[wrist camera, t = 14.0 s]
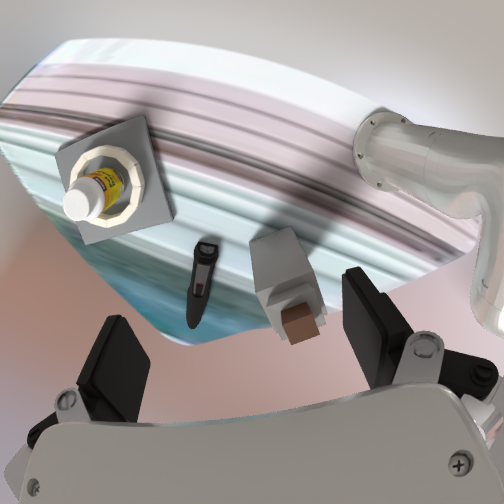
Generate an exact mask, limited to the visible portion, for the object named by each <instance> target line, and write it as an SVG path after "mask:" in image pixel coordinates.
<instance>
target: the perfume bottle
mask: <svg viewBox="0 0 504 504" xmlns="http://www.w3.org/2000/svg"><path fill="white" fill-rule="evenodd" d="M249 246H250V253H251V261H252V269H253V277H254V284H255V292H256V295H257V297H258V299H259V301H260V303H261V305H262V307H263V309H264V311H265V313H266V315H267V317H268V319H269V321H270V322H271V324H272V326H273V328H274V330H275V332H276V333H279V335H280V337H281V339H282V340H285V339H289V341H290V343H291V345H293V344H296V343H298V342H301V341H304V340H307V339H310V338H312V337H315V336H317V335H320V333H319V330H318V327H320V326H322V325H325V324H326V322H325V319H324V315H326V314H327V311H326V307H325V304H324V301H323V298H322V295H321V292H320V289H319V286H318V283H317V280H316V277H315V274H314V271H313V269H312V267H311V265H310V263H309V261H308V259H307V257H306V255H305V253H304V251H303V249H302V247H301V245H300V243H299V241H298V239H297V237H296V235H295V233H294V231H293V229H292V227H291V226H289V227H286V228H284V229H281V230H279V231H276V232H274V233H271V234H269V235H266V236H264V237H261V238H259V239H256V240H254V241H251V242H249Z"/></svg>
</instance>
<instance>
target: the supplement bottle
mask: <svg viewBox="0 0 504 504" xmlns="http://www.w3.org/2000/svg"><path fill="white" fill-rule="evenodd" d="M123 192H124V180H123V177H122V175H121V174H120V173H119V172H118V171H117V170H116V169H114V168H111V167H104V168H100V169H98V170H96V171H93V172H91V173H89V174H87V175H84V176H82V177H80V178H78V179H76V180H75V181H74V182H73V183H72V184H71V185H70V187H69V189H68V191H67V192H66V194H65V195H64V198H63V208H64V211H65V213H66V215H67V216H68V217H69V218H70V219H72V220H75V221H81V220H86V221H88V220H93V219H95V218H96V217H98V216H99V215H100V214H101V213H102V212H104V211H105V210H106V209H108V208H109V207H110V206H111V205H113V204H114V203H115V202H117V201H118V200H119V199H120V198H121V196H122V194H123Z"/></svg>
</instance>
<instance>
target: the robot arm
mask: <svg viewBox="0 0 504 504" xmlns="http://www.w3.org/2000/svg"><path fill="white" fill-rule="evenodd" d="M370 122H372V123H370ZM358 154H359V157H358ZM353 156H354V161H355V165H356V167H357V170H358V172H359V174H360V175H361V177H362V178H363V179H364V180H365V181H366V182H367V183H368V184H369V185H371V186H372V187H374V188H376V189H378V190H381V191H384V192H394V191H398V190H402V191H404V192H406V193H407V194H409V195H411V196H413V197H415V198H417V199H419V200H420V201H422V202H424V203H426V204H428V205H429V206H431V207H433V208H435V209H436V210H438V211H440V212H442V213H444V214H445V215H447V216H449V217H452V218H455V219H469V218H473V217H476V216H478V215H480V214H482V224H481V233H480V236H481V238H480V243H479V249H478V255H477V260H476V266H475V270H474V275H473V280H472V285H471V291H470V305H471V310H472V312H473V315H474V317H475V318H476V320H477V321H478V323H479V324H480V325H481V326H482V327H484V328H485V329H486V330H488V331H489V332H491V333H492V334H494V335H496V336H499V337H502V338H504V138H503V137H493V136H485V135H478V134H473V133H467V132H462V131H456V130H449V129H443V128H436V127H430V126H423V125H415V124H412V123H411V122H410V121H409V120H408V119H407V118H406V117H404V116H402V115H400V114H397V113H394V112H379V113H376V114H373V115H372V116H370V117H368V118H367V119H366V120H365V121H364V122H363V123H362V124H361V126H360V127H359V129H358V131H357V133H356V136H355V139H354V145H353ZM377 183H378V184H377ZM342 298H343V327H344V331H345V333H346V335H347V337H348V340H349V342H350V344H351V346H352V348H353V350H354V353H355V355H356V357H357V359H358V362H359V364H360V366H361V368H362V371H363V373H364V375H365V377H366V380H367V382H368V384H369V386H370V389H371V390H367V391H364V392H359V393H356V394H352V395H349V396H345V397H341V398H337V399H333V400H329V401H325V402H321V403H316V404H312V405H308V406H303V407H299V408H294V409H289V410H283V411H278V412H273V413H266V414H260V415H253V416H246V417H238V418H230V419H221V420H209V421H197V422H196V421H195V422H174V423H137V419H138V415H139V411H140V406H141V402H142V397H143V393H144V389H145V385H146V381H147V377H148V373H149V369H150V359H149V357H148V356H147V354H146V353H145V351H144V349H143V348H142V346H141V344H140V343H139V341H138V339H137V337H136V336H135V334H134V332H133V330H132V329H131V327H130V326H129V323H128V322H127V320H126V318H125V317H122V316H121V315H112V316H108V317H107V319H106V321H105V323H104V325H103V327H102V329H101V331H100V333H99V335H98V337H97V339H96V341H95V343H94V345H93V347H92V349H91V351H90V353H89V355H88V358H87V360H86V362H85V364H84V366H83V369H82V371H81V373H80V375H79V378H78V380H77V382H76V384H77V385H78V386H79V388H78V390H77V389H75V388H67V389H65V390H63V391H62V392H61V393H60V394H59V395H58V396H57V398H56V400H55V404H54V406H55V412H54V413H53V414H51V415H50V416H48V417H47V418H45V419H44V420H43V421H41V422H40V423H38V424H37V425H35V426H34V427H33V428H32V429H31V430H30V431H29V434H28V437H27V444H28V446H27V445H26V444H24V445H23V447H22V448H21V449H20V450H19V451H18V453H17V454H16V455H15V456H14V457H13V459H12V460H11V461H10V462H9V463H8V465H7V466H6V468H5V471H4V476H5V479H6V481H7V483H8V485H9V486H10V488H11V490H12V491H13V493H14V495H15V496H16V498H17V499H18V501H19V503H18V504H504V377H501V376H499V373H498V370H497V367H496V366H495V365H494V364H493V363H492V362H491V361H489V360H487V359H484V358H480V357H475V356H471V355H467V354H463V353H459V352H455V351H451V350H447V349H444V342H443V340H442V339H441V338H440V336H438V335H437V334H435V333H433V332H430V331H420V332H416V333H414V331H413V330H412V328H411V327H410V325H409V324H408V323H407V321H406V320H405V318H404V317H403V316H402V314H401V313H400V311H399V310H398V309H397V307H396V306H395V305H394V303H393V302H392V301H391V299H390V298H389V297H388V295H387V294H386V293H384V292H383V293H380V292H379V291H378V290H377V288H376V287H375V286H374V284H373V283H372V282H371V280H370V279H369V278H368V276H367V275H366V274H365V272H364V271H363V270H362V269H361V267H354V268H350V269H347V270H346V273H345V274H342ZM473 419H474V420H475V421H476V422H474V420H473ZM476 424H477V425H478V426H480V427H481V428H482V429H483V430H484V432H485V435H486V441H484V439H483V437H482V435H481V433H480V431H479V429H478V427H477V425H476Z"/></svg>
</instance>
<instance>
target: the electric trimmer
mask: <svg viewBox="0 0 504 504" xmlns="http://www.w3.org/2000/svg"><path fill="white" fill-rule="evenodd" d="M217 258H218V246H217V245H214V244H209V243H204V242H198V243H197V245H196V246H195V249H194V262H193V270H192V277H191V283H190V287H189V288H188V292H187V311H186V319H187V324H188V326H189V328H190V329H195V328H196V327H197V325H198V324H199V322H200V320H201V317H202V314H203V311H204V308H205V305H206V302H207V299H208V296H209V285H210V280H211V276H212V273H213V269H214V266H215V262H216V260H217Z"/></svg>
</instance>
